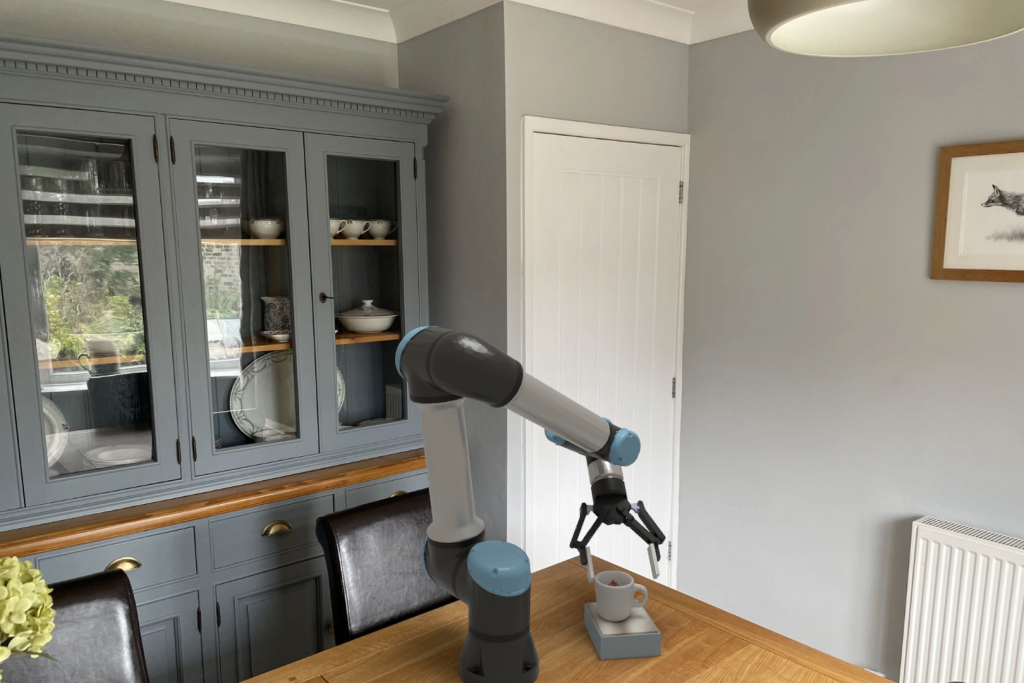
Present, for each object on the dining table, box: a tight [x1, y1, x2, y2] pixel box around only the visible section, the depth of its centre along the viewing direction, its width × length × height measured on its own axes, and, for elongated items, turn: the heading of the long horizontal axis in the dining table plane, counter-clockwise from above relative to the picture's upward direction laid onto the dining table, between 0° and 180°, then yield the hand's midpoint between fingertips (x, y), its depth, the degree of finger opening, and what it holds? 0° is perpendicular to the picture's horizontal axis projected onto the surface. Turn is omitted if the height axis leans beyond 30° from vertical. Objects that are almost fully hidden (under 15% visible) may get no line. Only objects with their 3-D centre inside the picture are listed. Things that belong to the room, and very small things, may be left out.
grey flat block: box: [583, 599, 662, 661], centre depth 152 cm, size 12×14×5 cm
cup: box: [593, 570, 649, 621], centre depth 151 cm, size 11×8×8 cm
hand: (624, 578), depth 151 cm, fingers open, 13 cm apart
